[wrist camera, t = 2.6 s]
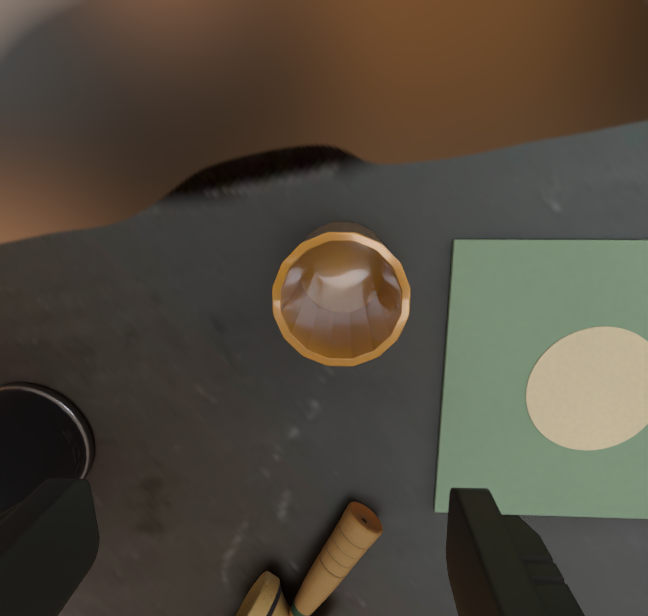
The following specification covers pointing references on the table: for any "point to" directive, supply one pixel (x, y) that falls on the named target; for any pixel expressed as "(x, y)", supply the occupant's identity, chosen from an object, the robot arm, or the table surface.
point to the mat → (547, 377)
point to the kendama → (318, 568)
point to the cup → (341, 296)
